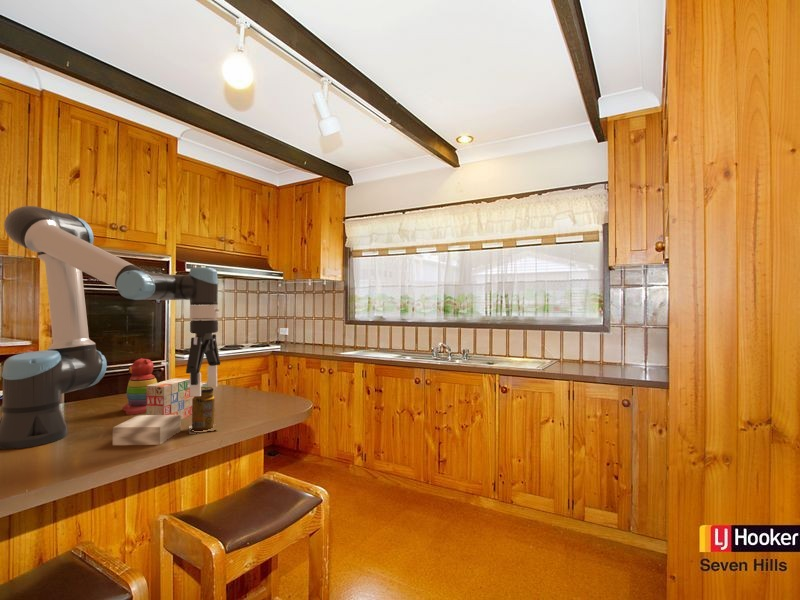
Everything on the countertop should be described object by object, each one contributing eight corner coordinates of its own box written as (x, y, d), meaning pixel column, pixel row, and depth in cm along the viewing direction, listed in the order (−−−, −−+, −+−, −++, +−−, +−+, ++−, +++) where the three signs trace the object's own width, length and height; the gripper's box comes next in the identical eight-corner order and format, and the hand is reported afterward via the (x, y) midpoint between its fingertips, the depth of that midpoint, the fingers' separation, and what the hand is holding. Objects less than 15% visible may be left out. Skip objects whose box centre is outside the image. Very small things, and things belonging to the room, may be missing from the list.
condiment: (215, 424, 130) (215, 385, 130) (217, 431, 122) (217, 390, 123) (188, 427, 127) (189, 387, 127) (189, 435, 119) (189, 392, 119)
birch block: (112, 446, 110) (112, 427, 110) (137, 432, 122) (138, 415, 122) (160, 445, 111) (160, 426, 111) (180, 431, 123) (180, 414, 123)
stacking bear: (121, 409, 146) (121, 358, 146) (154, 404, 153) (154, 356, 153) (126, 415, 138) (127, 361, 138) (161, 410, 145) (162, 359, 145)
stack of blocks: (192, 407, 150) (192, 373, 150) (208, 408, 148) (208, 374, 148) (145, 425, 129) (146, 384, 129) (163, 426, 127) (164, 385, 127)
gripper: (201, 321, 113) (202, 400, 113) (229, 318, 138) (230, 382, 137) (172, 321, 112) (172, 401, 112) (206, 318, 137) (206, 383, 137)
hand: (204, 391), depth 125 cm, fingers open, 13 cm apart
